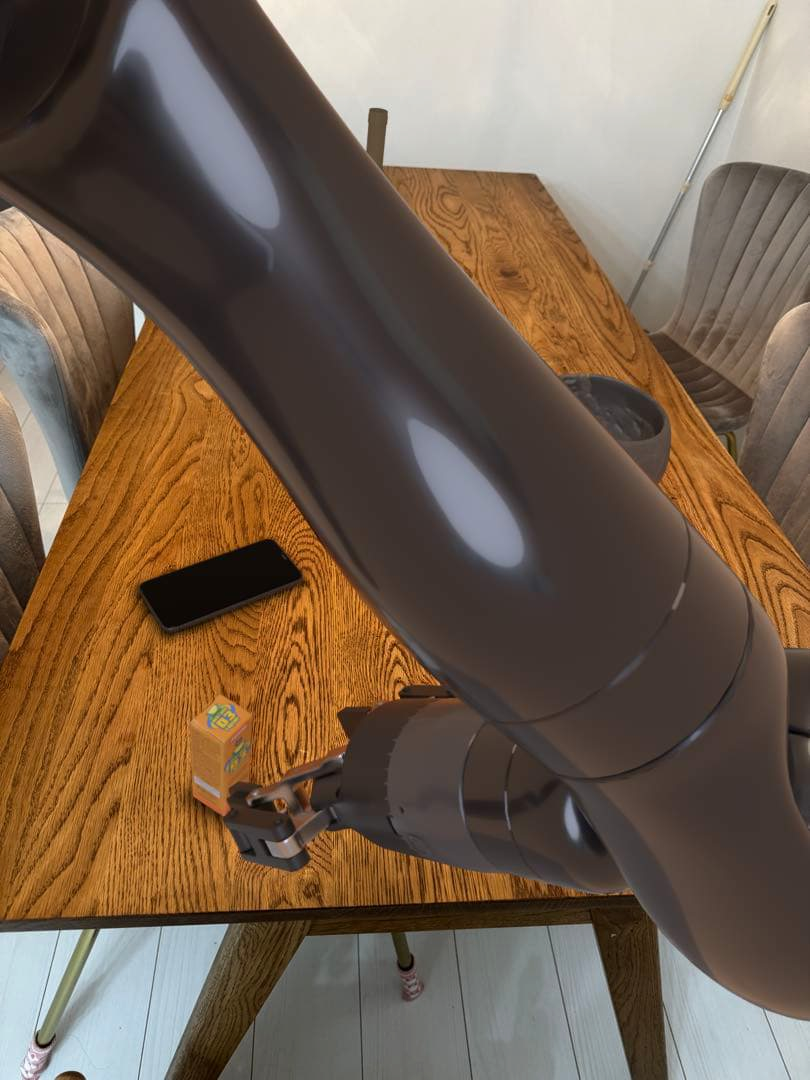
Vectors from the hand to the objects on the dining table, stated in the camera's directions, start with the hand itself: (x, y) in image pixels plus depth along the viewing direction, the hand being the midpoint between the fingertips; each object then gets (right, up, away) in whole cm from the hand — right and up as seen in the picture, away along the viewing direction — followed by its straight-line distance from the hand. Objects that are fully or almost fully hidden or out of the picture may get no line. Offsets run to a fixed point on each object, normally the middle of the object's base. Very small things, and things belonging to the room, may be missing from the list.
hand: (294, 760), depth 51 cm
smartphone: (-11, +9, +30) cm, 33 cm away
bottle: (0, +50, +80) cm, 94 cm away
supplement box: (-7, -6, +13) cm, 16 cm away
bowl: (+28, +20, +50) cm, 61 cm away
